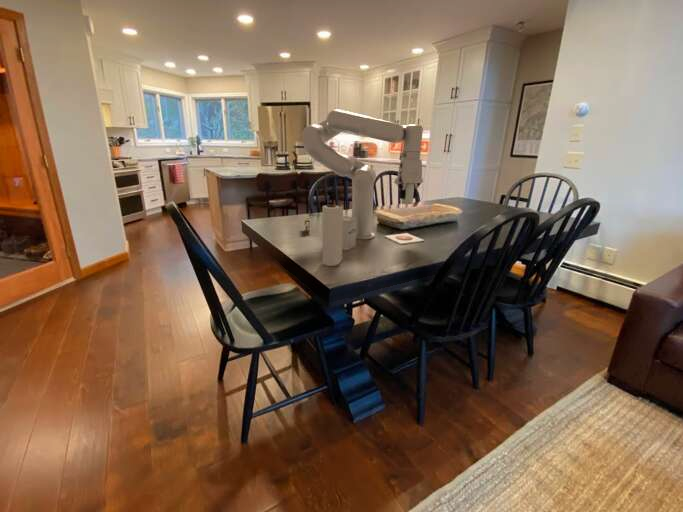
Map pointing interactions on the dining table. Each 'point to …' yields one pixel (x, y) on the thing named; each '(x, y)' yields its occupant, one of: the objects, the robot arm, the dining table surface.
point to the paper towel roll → (332, 234)
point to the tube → (408, 194)
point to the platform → (307, 224)
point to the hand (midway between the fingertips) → (407, 197)
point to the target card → (404, 238)
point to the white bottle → (349, 233)
